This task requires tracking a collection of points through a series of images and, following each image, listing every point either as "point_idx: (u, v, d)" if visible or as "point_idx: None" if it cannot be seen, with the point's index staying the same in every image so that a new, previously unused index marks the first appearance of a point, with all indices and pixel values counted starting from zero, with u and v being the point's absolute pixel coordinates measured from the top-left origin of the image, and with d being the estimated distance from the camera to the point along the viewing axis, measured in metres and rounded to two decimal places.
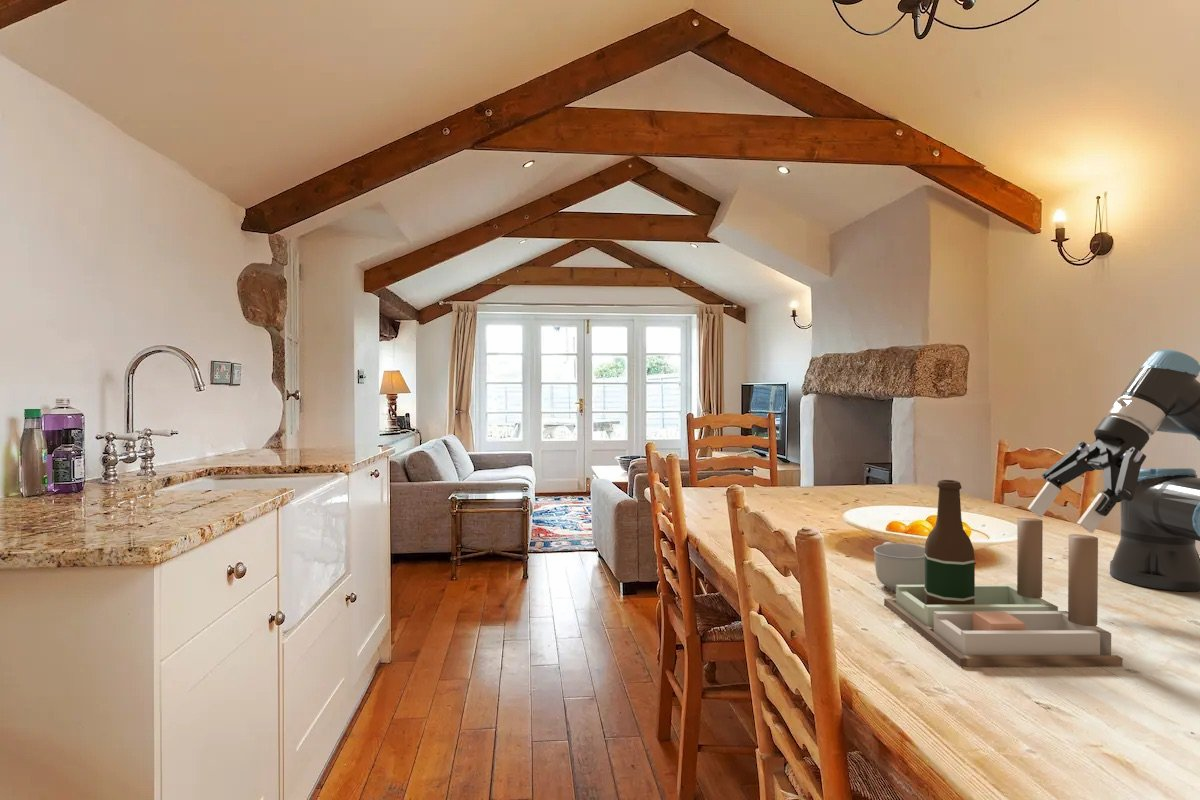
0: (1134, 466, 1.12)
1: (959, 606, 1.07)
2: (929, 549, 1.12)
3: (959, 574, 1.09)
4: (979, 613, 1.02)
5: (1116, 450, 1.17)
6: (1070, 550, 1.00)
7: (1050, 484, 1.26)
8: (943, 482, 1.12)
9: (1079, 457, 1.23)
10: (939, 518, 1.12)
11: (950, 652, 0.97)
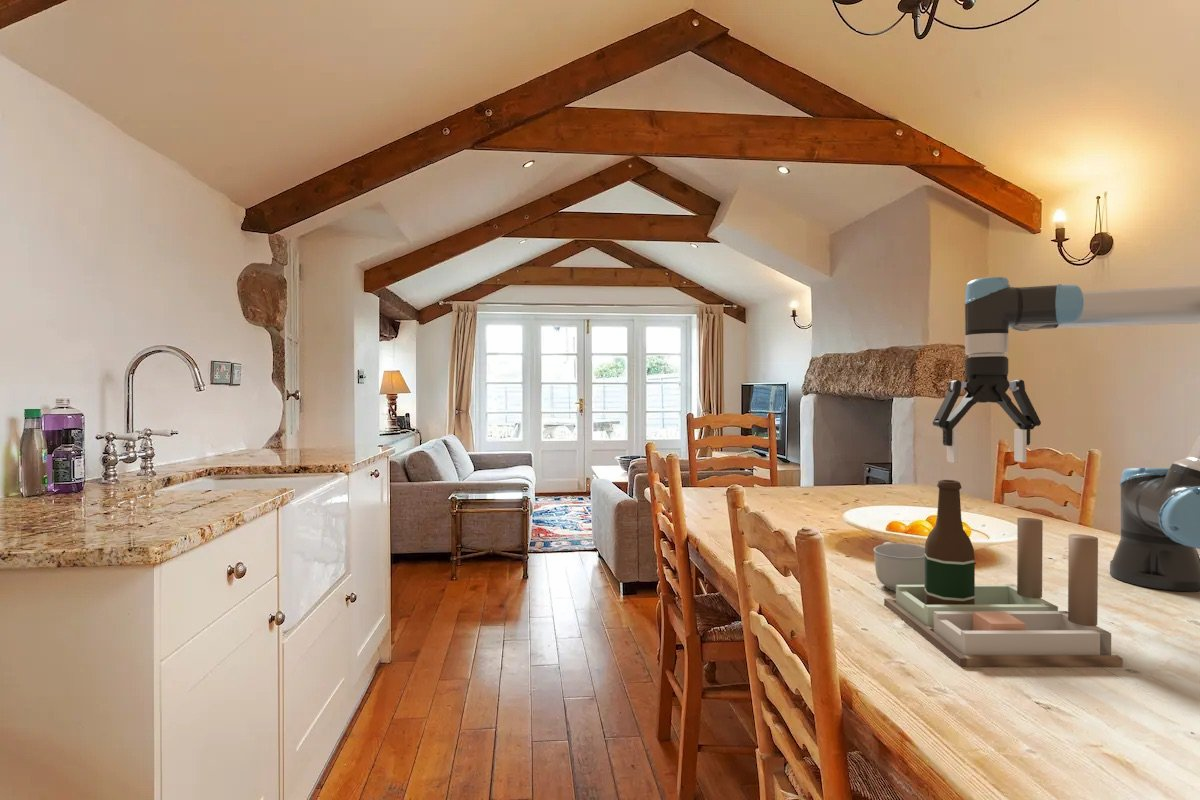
0: (949, 395, 1.31)
1: (959, 606, 1.07)
2: (929, 549, 1.12)
3: (959, 574, 1.09)
4: (979, 613, 1.02)
5: None
6: (1070, 550, 1.00)
7: (1015, 430, 1.32)
8: (943, 482, 1.12)
9: None
10: (939, 518, 1.12)
11: (950, 652, 0.97)
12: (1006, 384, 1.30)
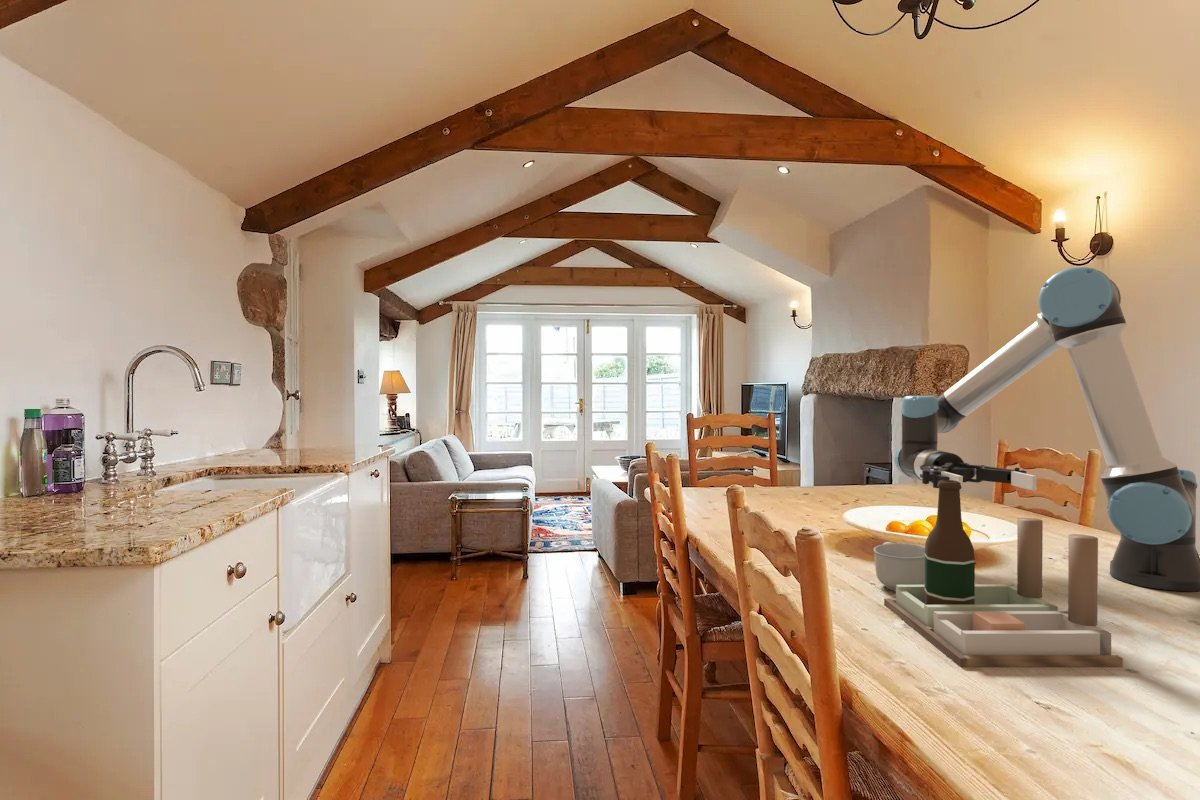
0: None
1: (959, 606, 1.07)
2: (929, 549, 1.12)
3: (959, 574, 1.09)
4: (979, 613, 1.02)
5: None
6: (1070, 550, 1.00)
7: (1012, 483, 1.28)
8: (943, 482, 1.12)
9: (977, 482, 1.34)
10: (939, 518, 1.12)
11: (950, 652, 0.97)
12: None
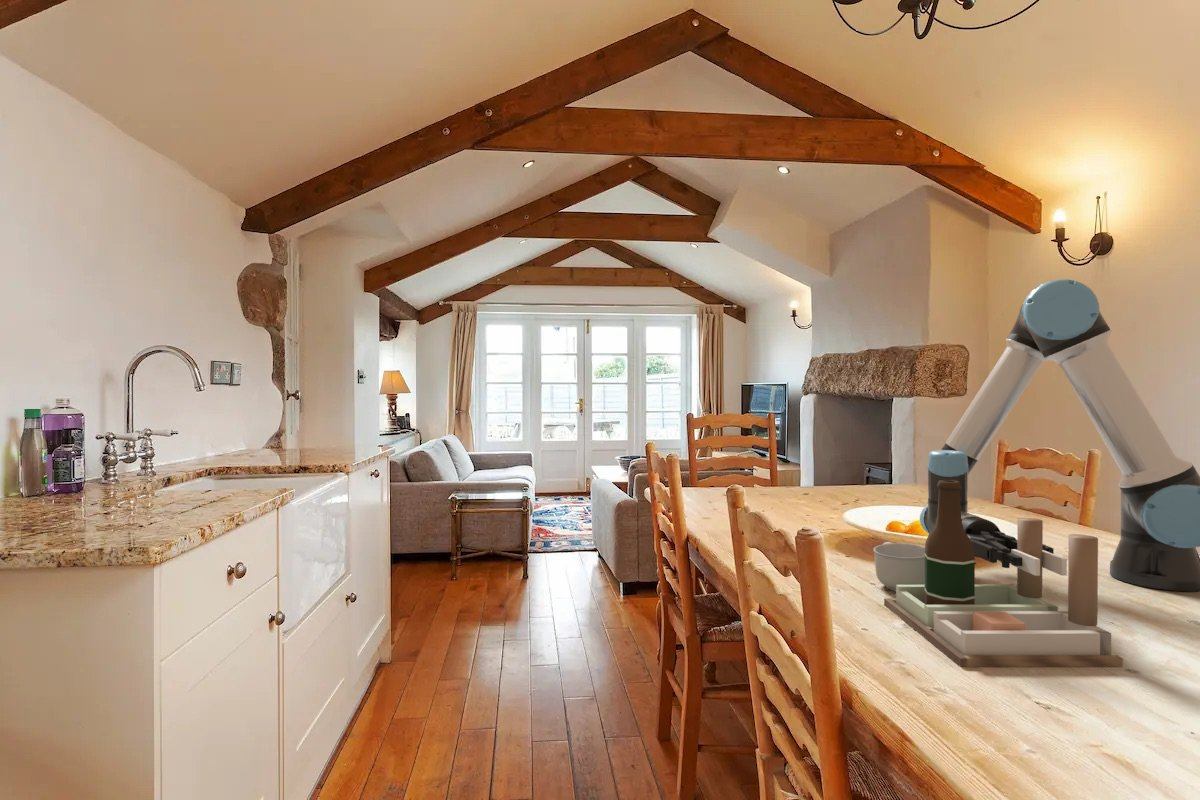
0: None
1: (959, 606, 1.07)
2: (929, 549, 1.12)
3: (959, 574, 1.09)
4: (979, 613, 1.02)
5: None
6: (1070, 550, 1.00)
7: None
8: (943, 482, 1.12)
9: None
10: (939, 518, 1.12)
11: (950, 652, 0.97)
12: None
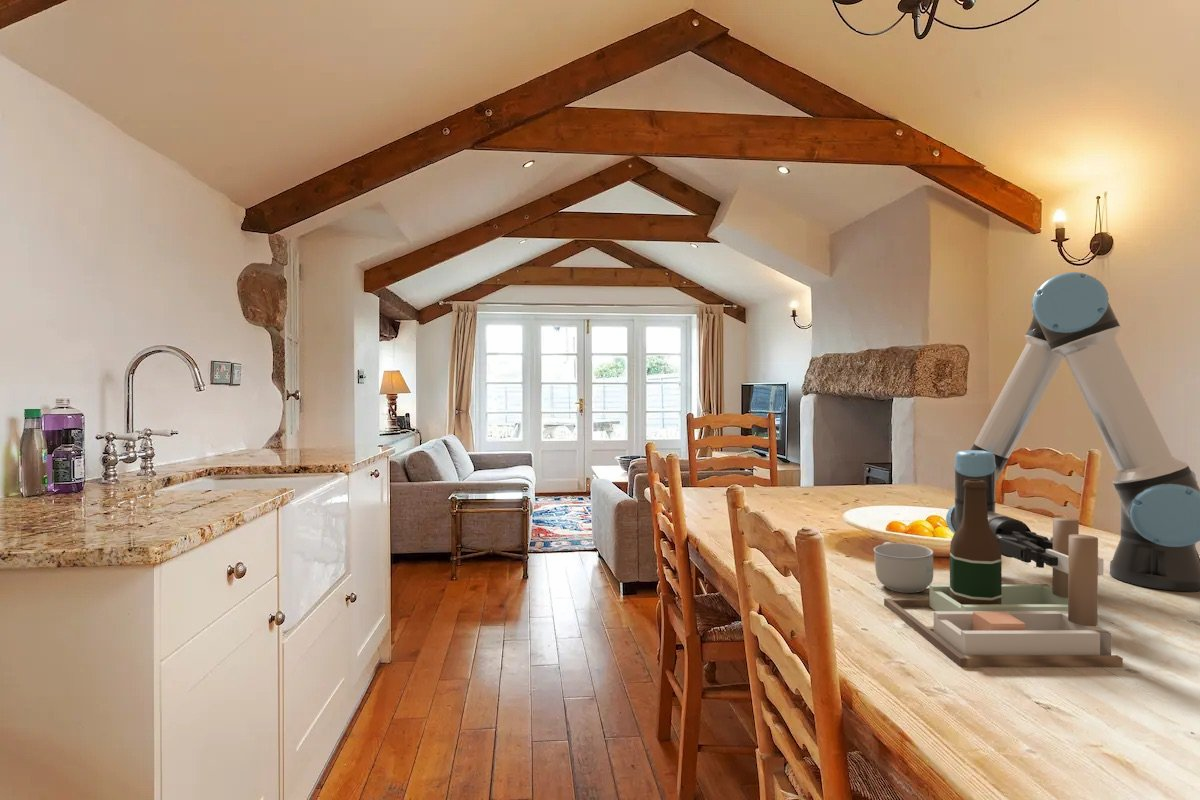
0: (1001, 546, 1.21)
1: (996, 606, 1.07)
2: (956, 549, 1.12)
3: (987, 574, 1.09)
4: (979, 613, 1.02)
5: None
6: (1070, 550, 1.00)
7: None
8: (970, 482, 1.12)
9: None
10: (966, 518, 1.12)
11: (950, 652, 0.97)
12: None
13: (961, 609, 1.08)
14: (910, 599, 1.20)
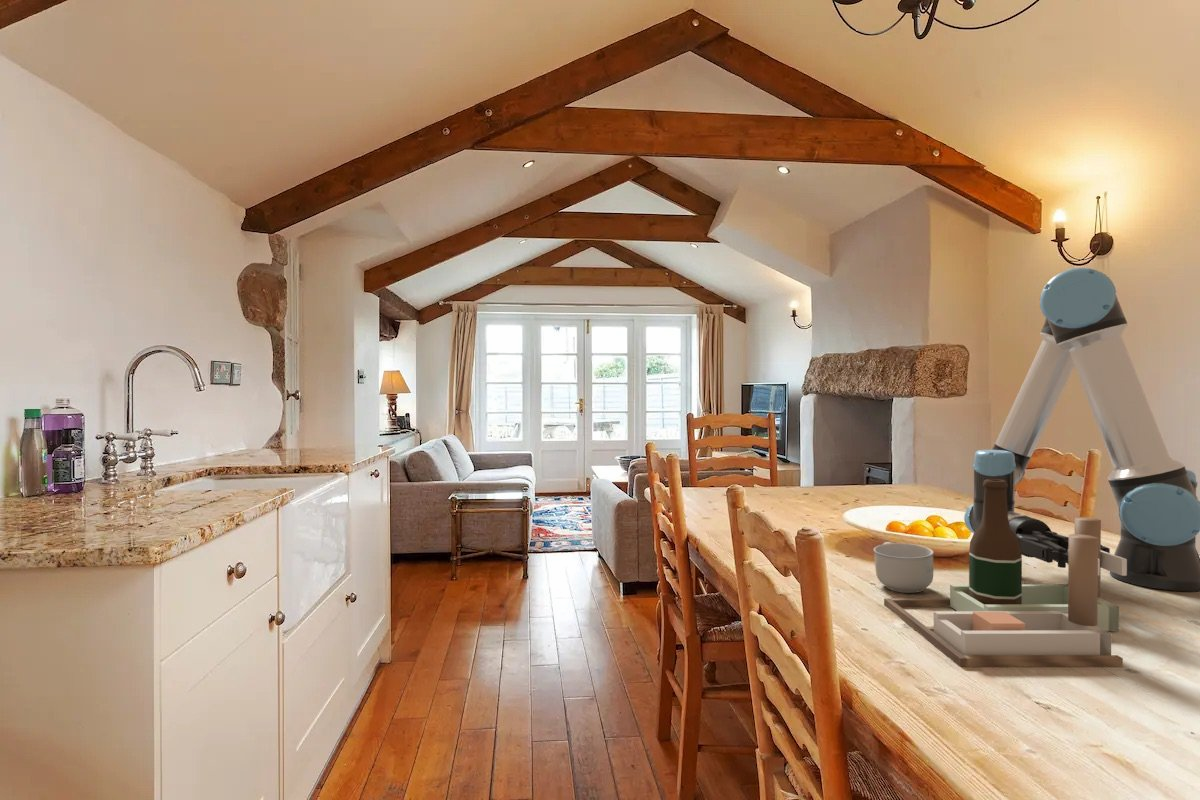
0: (1022, 546, 1.20)
1: (1019, 606, 1.07)
2: (978, 549, 1.12)
3: (1010, 573, 1.09)
4: (979, 613, 1.02)
5: None
6: (1070, 550, 1.00)
7: None
8: (991, 481, 1.12)
9: None
10: (987, 517, 1.12)
11: (950, 652, 0.97)
12: None
13: (984, 609, 1.08)
14: (910, 599, 1.20)
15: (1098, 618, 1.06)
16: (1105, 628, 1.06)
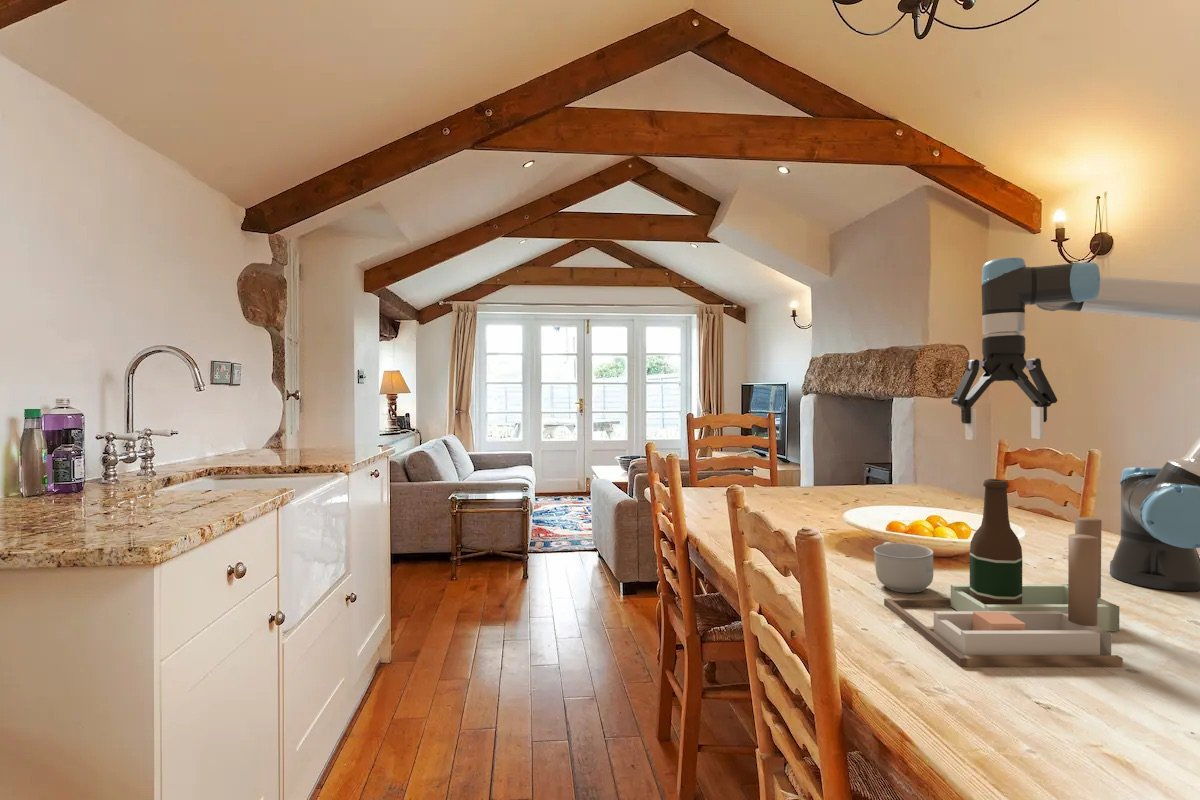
0: (967, 374, 1.34)
1: (1020, 606, 1.07)
2: (979, 549, 1.12)
3: (1011, 573, 1.09)
4: (979, 613, 1.02)
5: None
6: (1070, 550, 1.00)
7: (1032, 408, 1.35)
8: (991, 481, 1.12)
9: None
10: (987, 517, 1.12)
11: (950, 652, 0.97)
12: (1023, 362, 1.33)
13: (984, 609, 1.08)
14: (910, 599, 1.20)
15: (1099, 618, 1.06)
16: (1106, 628, 1.06)
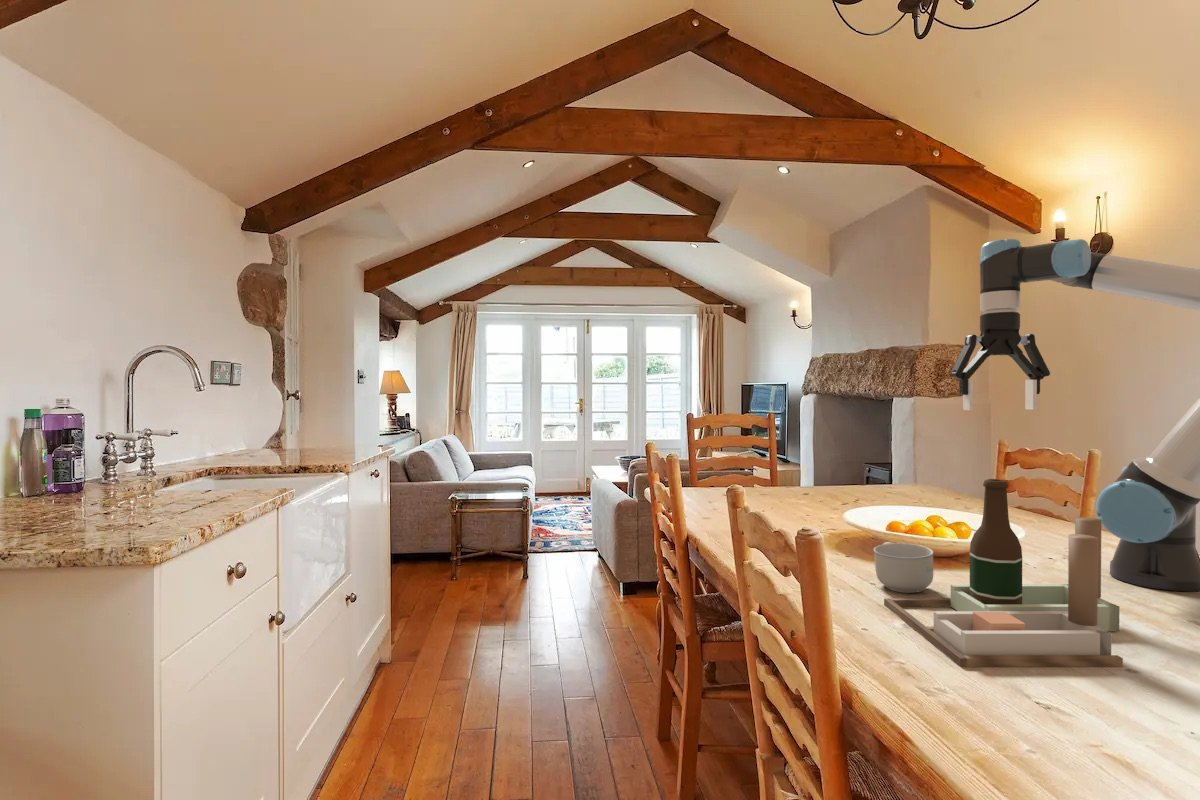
0: (965, 349, 1.43)
1: (1020, 606, 1.07)
2: (979, 549, 1.12)
3: (1011, 573, 1.09)
4: (979, 613, 1.02)
5: None
6: (1070, 550, 1.00)
7: (1026, 381, 1.44)
8: (991, 481, 1.12)
9: None
10: (987, 517, 1.12)
11: (950, 652, 0.97)
12: (1018, 338, 1.42)
13: (984, 609, 1.08)
14: (910, 599, 1.20)
15: (1099, 618, 1.06)
16: (1106, 628, 1.06)
